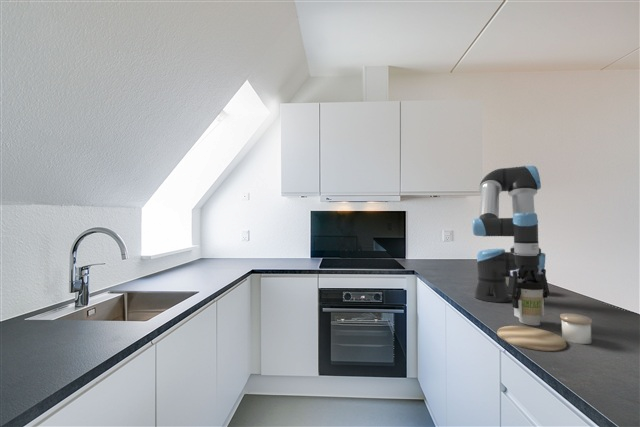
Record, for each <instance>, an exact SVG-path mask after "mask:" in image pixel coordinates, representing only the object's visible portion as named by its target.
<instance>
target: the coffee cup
mask: <svg viewBox="0 0 640 427" xmlns="http://www.w3.org/2000/svg"><path fill="white" fill-rule="evenodd" d="M516 288H520V289H521V295H520V298H519V299H520V300H521V301H522V318H519V317H518V320H519V323H522V324H524V325H528V326H539V325H541V313H542V303H543V289H545V288H544V286H543V284H542V282H540V281H539V282H537V283H534V282H531V281H530V280H527V282H526V283H520V282H517V286H516Z"/></svg>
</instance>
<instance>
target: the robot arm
mask: <svg viewBox="0 0 640 427" xmlns="http://www.w3.org/2000/svg"><path fill="white" fill-rule="evenodd" d="M540 176H541V175H540V174H539V169H538V168H537V166H535V165H523V166H522V165H521V166H515V167H514V166H513V167H505V168H504V167H502V168H497V169H494V170H492V171H490V172H489V173H488V174H485V176H484V177H483V179H482V180H481V181H480V183H479V189H478V190H479V193H480V202H479V204H480V205H479V213H478V218H474V219H473V220H472V233H473V235H474V236H476V237H513V245H512V246H511V247H510V249H509V250H510V251H506V250H505V248H490V249H483V250H480V251H478V252H477V254H476V255H477V256H476V258H477V260H476V262H477V283H476V287H475V291H474V298H475V299H478V300H481V301H484V302H491V303H507V302H511V301H512V307H513V314H514V317H516V318H518V319H519V318H522V301H521V300H520V299H519V298H520V295H521V289H520V288H516V286H517V282H520V283H526V282H527V280H530V281H531V282H534V283H537V282H539V281H540V282H542V284H543V286H544V288H545V289H543V303H542V313H541V316H542V317H544V316H545V305H546V303H545V302H546V300H545V299H547V298H549V297H548V296H550V289H549V285H548V279H547V275H546V272H547V270H546V269H545V267H546V253H544V252H542V249H541V247H539V221H538V220H539V218H538V213H537V212H535V196H536V195H537V193H538V190H540V189H541V188H542V184H541V178H540ZM501 192H508V193H507V194H508V195H509V197H511V201H512V202H511V203H512V204H511V205H512V206H511V207H512V217H500V193H501ZM507 278H508V284H507ZM546 279H547V280H546Z"/></svg>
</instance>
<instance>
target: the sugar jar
mask: <svg viewBox="0 0 640 427" xmlns="http://www.w3.org/2000/svg"><path fill="white" fill-rule="evenodd" d="M559 319H560V320H561V337H562V338H563V339H564V340H565V341H566V342H570V343H573V344H580V345H590V344H592V324H593V319H592V318H591V317H589V316H585V315H583V314H577V313H560V315H559Z"/></svg>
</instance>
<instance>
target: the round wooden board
mask: <svg viewBox="0 0 640 427" xmlns="http://www.w3.org/2000/svg"><path fill="white" fill-rule="evenodd" d="M496 333H497V336H498V338H499V339H501V340H503V341H504V342H506V343H507V344H510V345H513V346H516V347H520V348H522V349H527V350H532V351H533V350H534V351H540V352H558V351H562V350H564V349H567V340H565V339H563V338H562V336H560V335H558V334H556V333H554V332H552V331H548V330H545V329H541V328H537V327H536V328H535V327H532V326H523V325H507V326H501V327H500V328H498V329H497V331H496Z"/></svg>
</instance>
